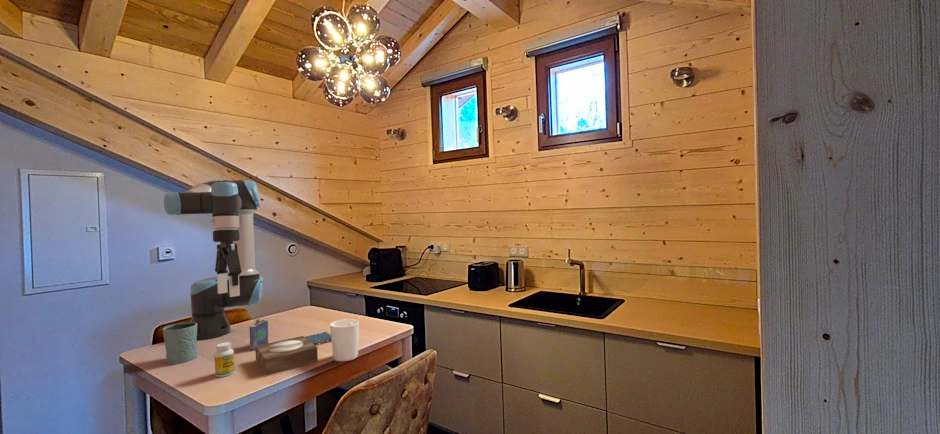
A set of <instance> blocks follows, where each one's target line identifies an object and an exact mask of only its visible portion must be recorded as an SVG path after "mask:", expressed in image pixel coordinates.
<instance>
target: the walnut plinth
mask: <svg viewBox="0 0 940 434" xmlns="http://www.w3.org/2000/svg"><path fill="white" fill-rule="evenodd" d="M254 352H255V361H256V363H257V364H258V366H259V367H260V368H261V370H262V371H263V373H264V374H265V375H266V376H267V375H272V374H276V373H279V372H284V371H288V370H293V369H295V368H298V367H299V368H300V367H304V366H308V365H311V364H314V363H318V362H319V361H318V360H319V358H318V355H319V354H318V346H315V345H314V344H313V343H311V342H310V341H309V340H308V339H306V338H305V336H304V335H301V336H300V335H299V336H296V337H292V338H287V339H282V340H281V339H280V340H278V341H273V342H268V343H267V344H263V345H258V346H255V350H254Z"/></svg>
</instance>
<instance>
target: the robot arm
mask: <svg viewBox="0 0 940 434" xmlns="http://www.w3.org/2000/svg"><path fill="white" fill-rule="evenodd" d="M258 189H259V188H258V186H257V183H256V182H255V181H254V180H244V179H240V180H239V179H238V180H234V179H233V180H210V181H206V182H201V183H198V184H195V185H194V186H192V187H191V188H190V189H188V190H186V191H179V192H177V191H174V192H172V191H171V192H166V193H165V195H164V197H163V208H164V211H165V213H166V214H167V215H168V216H169V215H170V216H171V215H172V216H174V215H176V216H181V215H182V216H183V215H200V214H201V215H209V214H211V215H212V216H211V218H212V219H210V222H211V223H212V229H213V231H212V241H213V242H214V243H219V244H217V245H216V256H215V266H214V272H216V276H214V277H213V276H212V277H208V278H203V279H200V280H197V281H194V282H193V283H191V285H190V293H189V295H190V309H191V320H190V322H196V323H197V340H196V341H198V340H199V341H200V340H207V339H214V338H217V337H222V336H224V335H227V334H229V333H230V332H231V325H230V323H229V320H228V317H227V315H226V314H225V308H232V307H242V306H251V305H257V304H259V303H260V302H261V299H262V295H263V294H262V293H263V285H264V277H263V276H260V272H259V271H258V270H257V269H256V259H255V258H256V256H255V232H254V231H255V230H254V228H255V225H254V214H255V213H256V212H258V208H259V207H261V201H260V199H261V198H260V195H259V190H258ZM227 268H228V269H227Z"/></svg>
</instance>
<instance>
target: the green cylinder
mask: <svg viewBox="0 0 940 434" xmlns="http://www.w3.org/2000/svg"><path fill="white" fill-rule="evenodd" d="M161 330H162V336H163V340H164V341H163V342H164V345H165V346H164V347H165V348H164V349H165V351H166V353H165V357H166V363H167V364H169V365H180V364H184V363H188V362H190V361H191V362H192V361H193V360H195V359H197V356H198V354H197V352H198V349H197V343H198V340H197V323H196V322H191V321H186V322H185V321H184V322H177V323H174V324H173V323H172V324H170V325H165V327H163V328H162V329H161Z"/></svg>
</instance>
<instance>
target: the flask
mask: <svg viewBox="0 0 940 434" xmlns="http://www.w3.org/2000/svg"><path fill="white" fill-rule="evenodd" d="M248 329H249V349H250V351H255V346H258V345H263V344H267V343H269V320H268V319H260V318H255V322H254V323H253V324H251V325H250V326H249V328H248Z"/></svg>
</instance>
